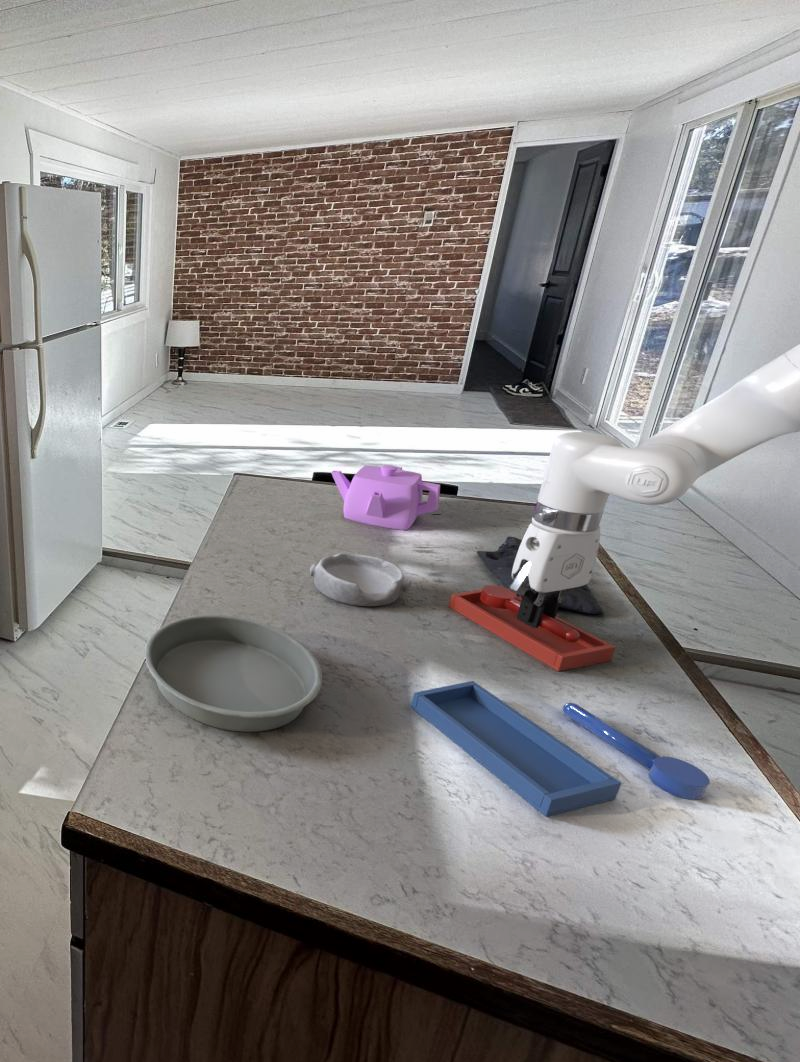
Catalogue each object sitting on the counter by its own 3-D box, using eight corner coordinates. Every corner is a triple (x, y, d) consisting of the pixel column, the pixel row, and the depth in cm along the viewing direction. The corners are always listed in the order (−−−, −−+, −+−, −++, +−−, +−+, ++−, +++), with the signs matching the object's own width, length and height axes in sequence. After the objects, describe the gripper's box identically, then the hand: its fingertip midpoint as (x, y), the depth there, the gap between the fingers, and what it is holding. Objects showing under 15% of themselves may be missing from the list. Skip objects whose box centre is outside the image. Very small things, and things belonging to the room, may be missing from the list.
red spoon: (588, 642, 96) (592, 630, 95) (563, 647, 95) (567, 635, 94) (495, 593, 110) (498, 583, 109) (473, 597, 109) (475, 587, 108)
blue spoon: (548, 714, 86) (552, 702, 85) (576, 708, 87) (580, 696, 86) (682, 803, 72) (689, 790, 71) (714, 795, 73) (721, 781, 72)
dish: (417, 600, 114) (422, 575, 112) (357, 618, 110) (362, 592, 108) (350, 566, 126) (354, 543, 125) (294, 581, 122) (297, 558, 120)
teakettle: (441, 528, 140) (452, 475, 136) (367, 534, 139) (376, 481, 135) (390, 500, 156) (399, 452, 151) (323, 506, 155) (330, 457, 150)
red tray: (448, 606, 111) (451, 594, 110) (494, 598, 113) (498, 586, 112) (558, 671, 94) (562, 657, 93) (611, 660, 96) (616, 646, 95)
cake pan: (116, 654, 104) (117, 631, 102) (247, 625, 109) (249, 602, 108) (201, 761, 82) (203, 733, 80) (359, 717, 87) (364, 690, 86)
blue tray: (410, 707, 89) (413, 692, 88) (469, 695, 90) (472, 680, 89) (545, 817, 71) (551, 800, 70) (615, 799, 73) (622, 782, 72)
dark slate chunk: (497, 604, 111) (503, 580, 109) (473, 551, 129) (478, 530, 128) (611, 621, 105) (619, 596, 103) (569, 563, 123) (576, 541, 121)
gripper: (546, 533, 90) (514, 643, 97) (637, 518, 93) (599, 626, 99) (498, 513, 97) (471, 617, 104) (583, 500, 99) (552, 603, 106)
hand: (534, 621), depth 101 cm, fingers closed on red spoon, 2 cm apart
